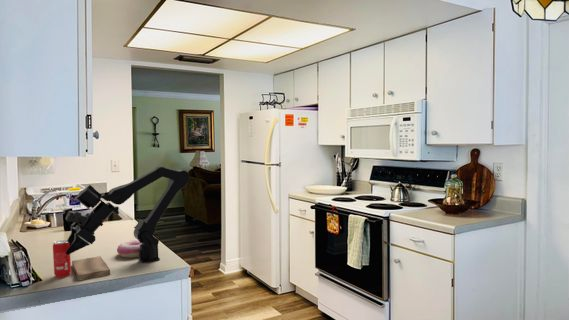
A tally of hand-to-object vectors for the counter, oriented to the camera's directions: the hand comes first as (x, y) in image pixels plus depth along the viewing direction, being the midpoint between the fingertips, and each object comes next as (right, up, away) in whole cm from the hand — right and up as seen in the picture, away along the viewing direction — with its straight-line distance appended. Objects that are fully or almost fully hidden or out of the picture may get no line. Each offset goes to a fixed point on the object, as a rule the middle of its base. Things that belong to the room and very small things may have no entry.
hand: (65, 251), depth 142 cm
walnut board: (+6, -8, +6) cm, 12 cm away
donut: (+15, -7, +25) cm, 30 cm away
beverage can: (-1, -9, 0) cm, 9 cm away
